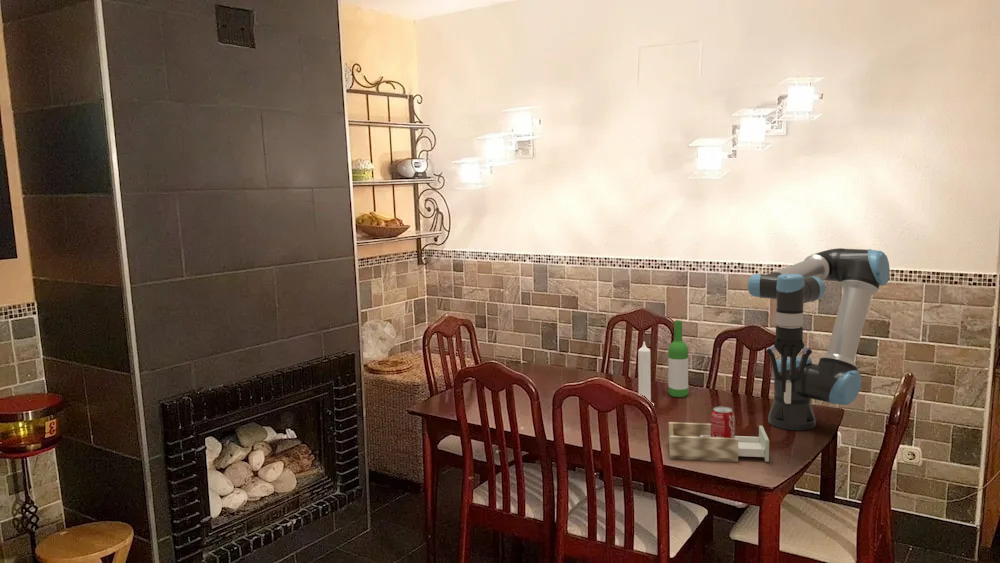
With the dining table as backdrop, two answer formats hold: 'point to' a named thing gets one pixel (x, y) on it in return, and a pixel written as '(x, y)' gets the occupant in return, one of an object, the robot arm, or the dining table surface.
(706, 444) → the light brown hollow box
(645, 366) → the candle
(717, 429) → the soda can
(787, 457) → the dining table surface
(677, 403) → the dining table surface
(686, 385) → the wine bottle
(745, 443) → the drawer
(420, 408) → the dining table surface
